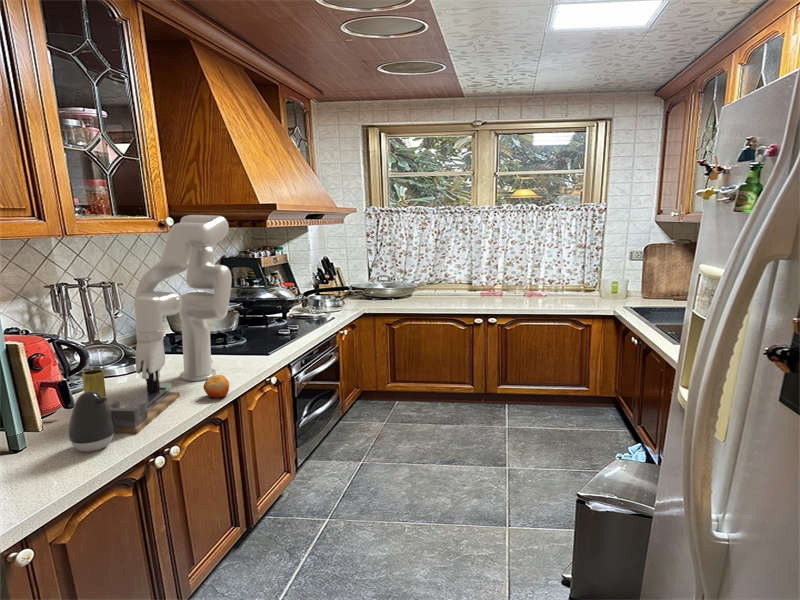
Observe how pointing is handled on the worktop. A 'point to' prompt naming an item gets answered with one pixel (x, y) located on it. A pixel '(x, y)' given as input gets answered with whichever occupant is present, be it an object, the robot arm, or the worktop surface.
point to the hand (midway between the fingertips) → (153, 391)
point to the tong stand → (139, 413)
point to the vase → (94, 381)
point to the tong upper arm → (150, 396)
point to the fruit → (216, 386)
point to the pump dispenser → (91, 423)
